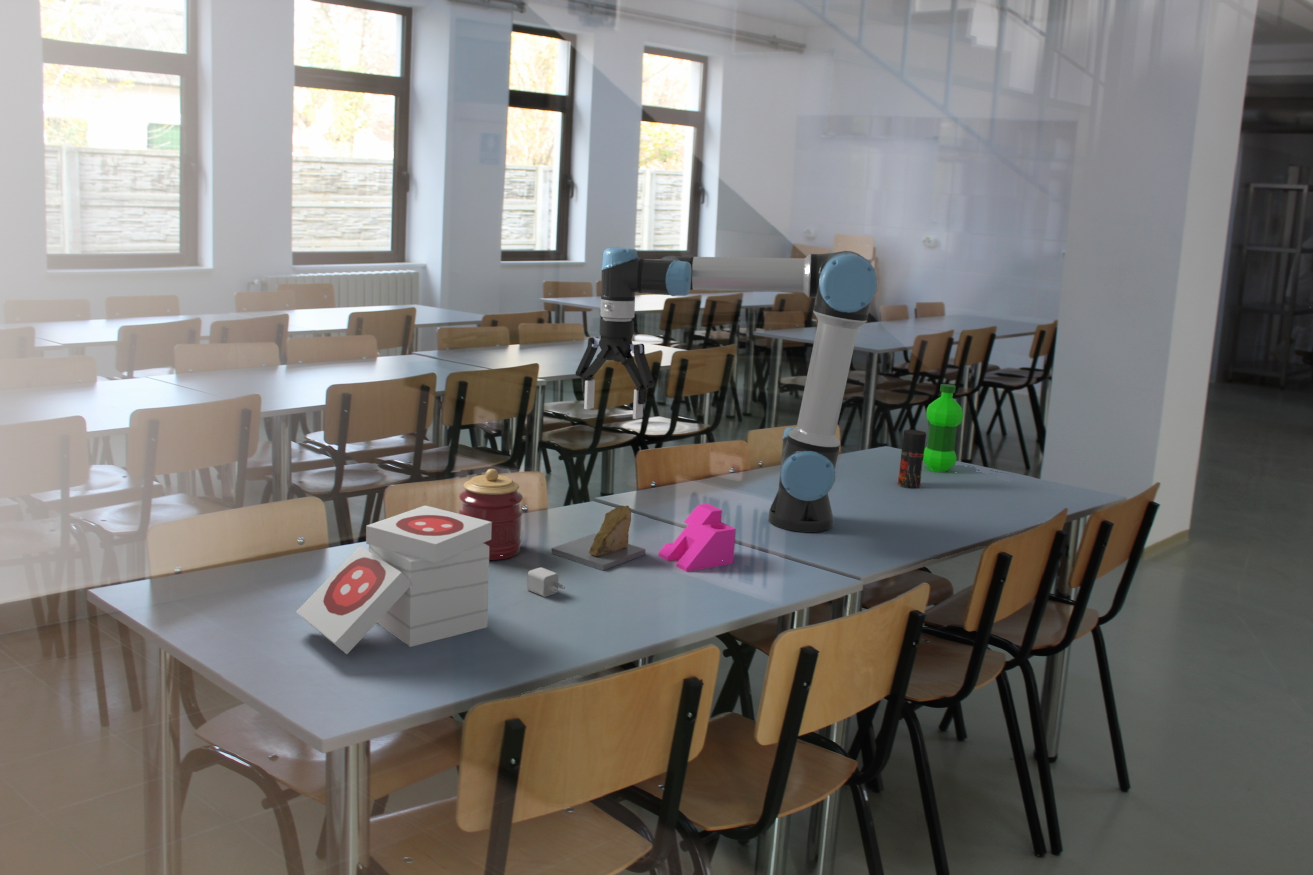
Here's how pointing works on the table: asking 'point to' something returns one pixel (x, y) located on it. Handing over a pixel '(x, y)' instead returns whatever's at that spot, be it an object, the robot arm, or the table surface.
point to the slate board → (580, 554)
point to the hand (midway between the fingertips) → (612, 413)
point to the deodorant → (911, 459)
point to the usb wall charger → (543, 582)
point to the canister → (495, 511)
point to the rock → (612, 532)
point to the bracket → (702, 541)
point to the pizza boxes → (408, 581)
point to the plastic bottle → (942, 430)
